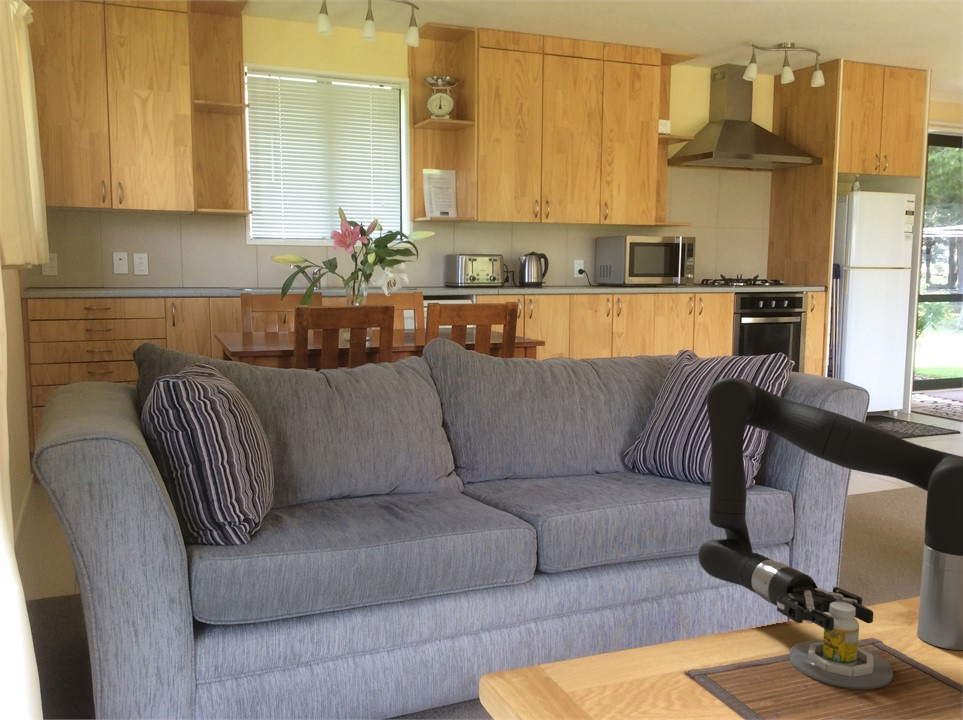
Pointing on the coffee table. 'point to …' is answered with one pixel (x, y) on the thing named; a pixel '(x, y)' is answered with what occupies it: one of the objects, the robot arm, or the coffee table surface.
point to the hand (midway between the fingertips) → (852, 621)
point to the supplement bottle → (842, 635)
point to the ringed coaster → (841, 667)
